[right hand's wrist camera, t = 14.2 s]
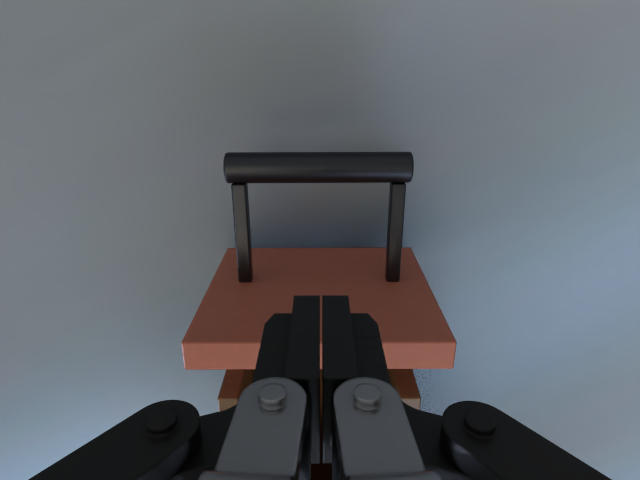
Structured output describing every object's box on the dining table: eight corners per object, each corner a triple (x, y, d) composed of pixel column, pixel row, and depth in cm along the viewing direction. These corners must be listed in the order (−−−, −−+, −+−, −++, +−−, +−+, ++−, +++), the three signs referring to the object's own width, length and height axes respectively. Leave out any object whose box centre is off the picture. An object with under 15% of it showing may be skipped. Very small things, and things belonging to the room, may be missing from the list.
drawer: (218, 137, 22) (158, 183, 14) (419, 137, 22) (477, 181, 14) (249, 508, 32) (224, 666, 23) (391, 508, 32) (416, 666, 23)
